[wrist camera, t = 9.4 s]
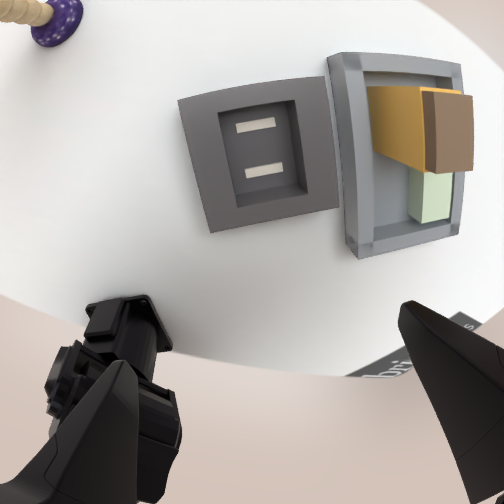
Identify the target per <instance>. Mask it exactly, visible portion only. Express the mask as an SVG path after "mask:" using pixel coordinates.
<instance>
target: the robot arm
mask: <svg viewBox="0 0 504 504" xmlns="http://www.w3.org/2000/svg"><path fill="white" fill-rule="evenodd" d="M142 300H145V301H146V302H143V301H142ZM91 310H92V311H91ZM85 311H86V313H87V315H88V316H89V318H90V321H89V323H88V326H87V328H86V330H85V333H84V337H85V340H84V343H83V345H82V343H81V342H79V341H78V340H75V342H74V344H73V345H72V346H69V347H61V348H60V350H59V352H58V354H57V356H56V359H55V361H54V363H53V366H52V368H51V370H50V373H49V376H48V378H47V381H46V384H45V387H44V388H45V391H46V393H47V396H48V399H47V403H48V407H47V412H46V413H47V414H49V415H51V416H53V420H52V423H51V427H50V429H49V440H48V442H47V443H46V444H45V445H44V446H43V448H42V449H41V450H40V451H39V452H38V453H37V455H36V456H35V457H34V458H33V459H32V460H31V461H30V462H29V463H28V464H27V465H26V466H25V467H24V469H23V470H22V471H21V472H20V473H19V474H18V475H17V476H16V477H15V478H14V479H12V480H11V481H9V482H7V483H3V484H0V504H137V503H138V502H140V501H141V502H145V503H150V504H155V503H157V502H158V501H159V500H160V499H161V497H162V496H163V495H164V493H165V488H166V483H167V478H168V474H169V471H170V468H171V465H172V463H173V461H174V459H175V457H176V456H177V454H178V452H179V447H180V444H181V439H182V427H181V422H180V417H179V413H178V408H177V403H176V398H175V393H174V392H173V391H171V390H169V389H164V388H162V387H160V386H158V385H156V384H154V383H152V379H153V373H154V367H155V361H156V355H157V353H159V352H167V351H171V350H172V347H173V344H172V342H171V340H170V338H169V336H168V335H167V333H166V331H165V329H164V327H163V325H162V323H161V321H160V319H159V317H158V315H157V313H156V310H155V308H154V306H153V304H152V302H151V300H150V298H149V297H148V296H147V295H139V296H133V297H128V298H118V299H113V300H107V301H101V302H98V303H94V304H89V305H87V307H86V309H85ZM398 327H399V330H400V333H401V335H402V338H403V340H404V343H405V345H406V348H407V351H408V353H409V356H410V359H411V361H412V364H413V366H414V368H415V370H416V372H417V374H418V376H419V378H420V380H421V382H422V384H423V387H424V389H425V391H426V393H427V395H428V397H429V399H430V401H431V403H432V406H433V408H434V410H435V412H436V415H437V417H438V419H439V421H440V424H441V426H442V428H443V431H444V433H445V435H446V438H447V440H448V443H449V445H450V447H451V450H452V453H453V455H454V458H455V460H456V463H457V466H458V469H459V472H460V474H461V477H462V480H463V483H464V486H465V489H466V492H467V495H468V498H469V501H470V504H477V503H479V502H481V501H484V500H486V499H488V498H490V497H492V496H494V495H496V494H498V493H500V492H501V491H503V490H504V349H503V348H501V347H499V346H496V345H495V344H494V343H492V342H490V341H488V340H487V339H485V338H483V337H481V336H479V335H478V334H475V333H474V332H472V331H470V330H468V329H467V328H465V327H463V326H461V325H459V324H457V323H455V322H454V321H452V320H450V319H448V318H446V317H444V316H442V315H441V314H439V313H437V312H435V311H433V310H431V309H429V308H427V307H425V306H423V305H421V304H420V303H418V302H416V301H413V300H411V301H408V302H405V303H403V304H402V305H401V307H400V313H399V318H398ZM495 504H504V493H503V494H502V495H500V496H499V497H498V498H497V500H496V503H495Z"/></svg>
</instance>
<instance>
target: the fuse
mask: <svg viewBox="0 0 504 504" xmlns="http://www.w3.org/2000/svg"><path fill="white" fill-rule="evenodd" d="M452 174H453V173H444V174H434V173H432V172H426V173H423V172H421V171H419V170H417V169H414V168H412V167H410V166H409V199H408V214H409V215H411V216H412V217H413V218H415V219H416V220H417V221H419V222H420V223H421V224H422V223H427V222H431V221H436V220H440V219H445V218H449V212H450V202H451V190H452Z"/></svg>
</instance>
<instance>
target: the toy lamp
mask: <svg viewBox="0 0 504 504" xmlns="http://www.w3.org/2000/svg"><path fill="white" fill-rule="evenodd" d="M82 14H83V6H82V3H81V2H80V0H48V1H47V2H45V3H39V2H38V1H37V0H0V21H1V22H7V23H8V22H13V21H14V22H15V23H17V24H28V25H30V26H31V34H32V37H33V39H34V40H35V41H36V42H37V43H38V44H39V45H41V46H44V47H52V46H56V45H58V44H60V43H62V42H63V41H65V40H66V39H67V38H68V37H69V36H70V35H71V34H72V33H73V32H74V30H75V29H76V28H77V26H78V24H79V22H80V20H81V17H82Z"/></svg>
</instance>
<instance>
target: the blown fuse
mask: <svg viewBox="0 0 504 504" xmlns="http://www.w3.org/2000/svg"><path fill="white" fill-rule="evenodd" d="M367 93H368V101H369V109H370V119H371V130H372V142H373V151H376V152H378V153H380V154H383V155H385V156H388V157H390V158H392V159H395V160H397V161H399V162H401V163H404V164H406V165H408V166H410V167H412V168H414V169H417V170H419V171H421V172H423V173H426V172H432V173H434V174H444V173H453V172H463V171H473V157H474V118H473V99H472V96H469V95H462V94H461V91H458V90H450V89H441V88H430V87H416V86H367Z"/></svg>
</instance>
